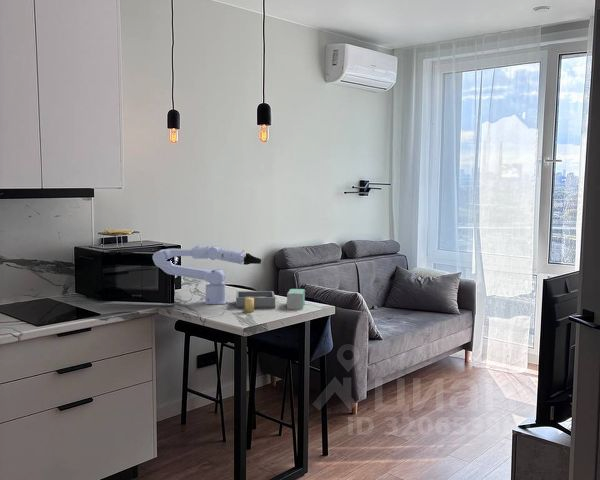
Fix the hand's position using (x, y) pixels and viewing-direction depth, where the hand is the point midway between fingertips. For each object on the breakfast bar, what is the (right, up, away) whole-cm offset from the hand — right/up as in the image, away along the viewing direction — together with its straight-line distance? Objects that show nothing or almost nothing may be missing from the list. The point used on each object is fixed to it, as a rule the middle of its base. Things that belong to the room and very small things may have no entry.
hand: (260, 261), depth 288 cm
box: (+17, -21, -2) cm, 27 cm away
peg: (-4, -22, -16) cm, 27 cm away
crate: (-2, -21, 0) cm, 21 cm away
